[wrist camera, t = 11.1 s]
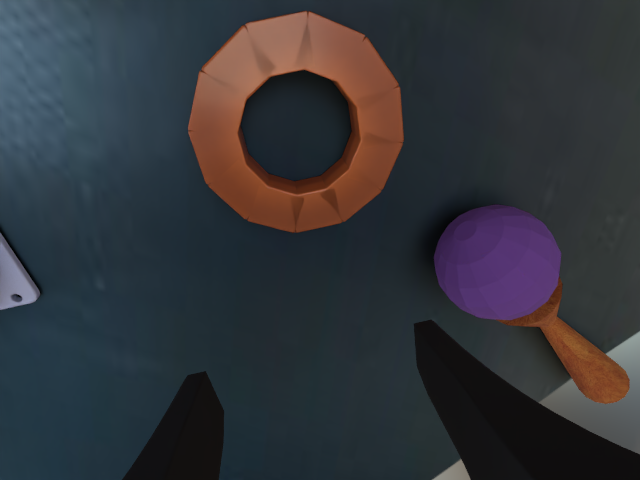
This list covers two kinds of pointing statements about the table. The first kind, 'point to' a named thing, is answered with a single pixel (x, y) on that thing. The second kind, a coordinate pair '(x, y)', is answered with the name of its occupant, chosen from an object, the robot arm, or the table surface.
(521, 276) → the purple maraca
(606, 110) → the table surface
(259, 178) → the top ring
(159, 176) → the table surface
